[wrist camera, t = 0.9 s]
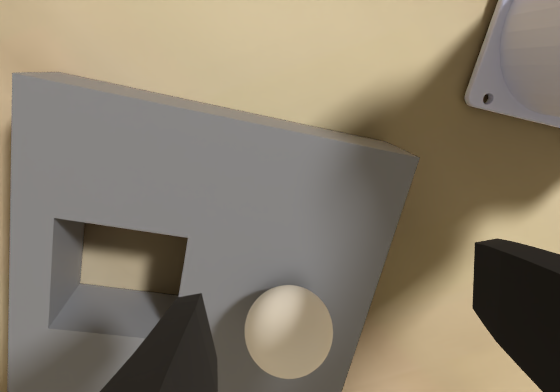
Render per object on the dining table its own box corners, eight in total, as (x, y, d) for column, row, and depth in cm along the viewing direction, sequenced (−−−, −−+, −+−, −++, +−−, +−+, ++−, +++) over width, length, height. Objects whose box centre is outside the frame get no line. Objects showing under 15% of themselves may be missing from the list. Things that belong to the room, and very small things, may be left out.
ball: (330, 274, 17) (355, 326, 13) (311, 341, 18) (329, 404, 14) (251, 263, 16) (256, 314, 13) (236, 333, 17) (237, 396, 14)
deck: (386, 141, 19) (419, 157, 15) (312, 384, 23) (326, 437, 20) (57, 71, 16) (12, 72, 13) (43, 361, 20) (6, 418, 17)
